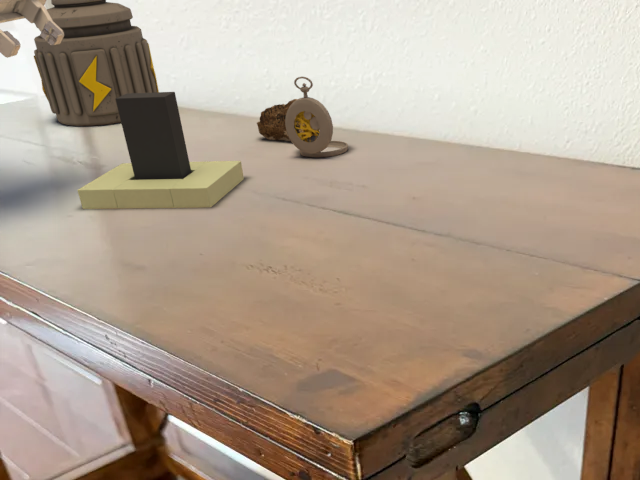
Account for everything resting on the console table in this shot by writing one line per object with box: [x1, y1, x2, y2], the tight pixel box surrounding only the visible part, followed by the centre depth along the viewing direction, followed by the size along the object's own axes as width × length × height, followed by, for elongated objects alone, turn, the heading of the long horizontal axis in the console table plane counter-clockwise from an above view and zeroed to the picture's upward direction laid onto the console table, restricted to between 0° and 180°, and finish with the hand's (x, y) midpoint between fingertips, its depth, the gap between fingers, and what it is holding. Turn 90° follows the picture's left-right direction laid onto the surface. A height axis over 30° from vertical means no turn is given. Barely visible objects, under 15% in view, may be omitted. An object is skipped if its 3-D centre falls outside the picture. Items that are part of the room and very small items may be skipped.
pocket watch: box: [285, 76, 349, 158], centre depth 107 cm, size 8×8×10 cm
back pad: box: [115, 91, 191, 180], centre depth 96 cm, size 6×3×11 cm, turn 80°
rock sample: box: [256, 98, 317, 142], centre depth 118 cm, size 10×8×9 cm
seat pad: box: [76, 160, 245, 210], centre depth 98 cm, size 16×12×2 cm
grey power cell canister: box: [33, 0, 160, 127], centre depth 135 cm, size 19×19×30 cm
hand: (38, 45), depth 91 cm, fingers open, 8 cm apart
